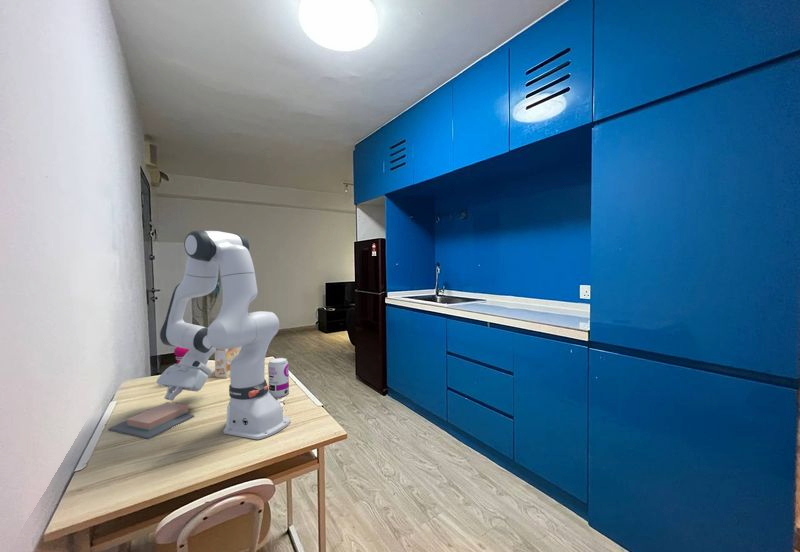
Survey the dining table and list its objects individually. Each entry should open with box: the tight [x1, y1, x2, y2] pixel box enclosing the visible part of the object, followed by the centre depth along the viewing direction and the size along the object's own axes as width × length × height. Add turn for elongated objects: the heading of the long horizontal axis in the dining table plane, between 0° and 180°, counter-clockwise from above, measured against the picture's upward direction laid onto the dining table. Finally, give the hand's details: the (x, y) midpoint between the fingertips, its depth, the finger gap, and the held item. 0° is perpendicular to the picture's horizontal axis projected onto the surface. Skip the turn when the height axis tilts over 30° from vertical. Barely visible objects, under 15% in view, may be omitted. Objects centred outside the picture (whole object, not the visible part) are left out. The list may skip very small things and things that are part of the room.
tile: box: [126, 402, 189, 431], centre depth 117 cm, size 2×11×14 cm
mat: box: [108, 413, 195, 440], centre depth 115 cm, size 16×20×1 cm
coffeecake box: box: [214, 346, 242, 379], centre depth 168 cm, size 15×7×20 cm, turn 168°
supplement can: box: [267, 357, 290, 398], centre depth 139 cm, size 8×8×15 cm
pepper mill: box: [173, 346, 189, 364], centre depth 153 cm, size 7×7×20 cm
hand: (168, 399), depth 120 cm, fingers closed
